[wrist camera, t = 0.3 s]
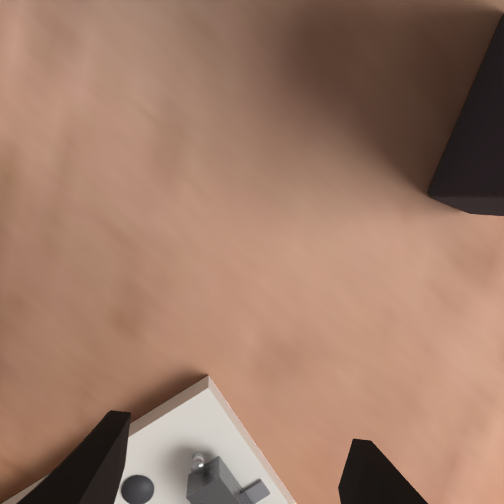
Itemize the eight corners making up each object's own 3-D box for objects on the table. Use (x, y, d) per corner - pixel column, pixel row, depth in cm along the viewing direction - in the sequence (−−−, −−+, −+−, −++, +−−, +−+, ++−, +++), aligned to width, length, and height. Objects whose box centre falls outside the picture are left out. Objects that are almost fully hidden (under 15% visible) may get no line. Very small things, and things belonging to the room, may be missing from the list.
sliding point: (235, 538, 22) (237, 565, 20) (179, 462, 21) (176, 484, 19) (265, 519, 22) (269, 545, 20) (210, 443, 21) (210, 463, 19)
